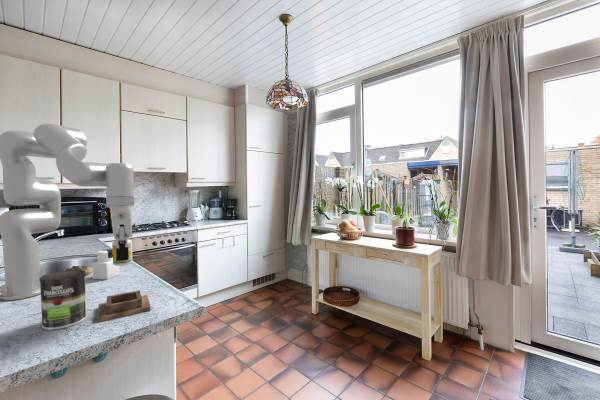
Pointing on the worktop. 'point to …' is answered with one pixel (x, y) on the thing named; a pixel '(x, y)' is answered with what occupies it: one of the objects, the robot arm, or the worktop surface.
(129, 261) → the supplement bottle
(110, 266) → the medicine bottle
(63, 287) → the coffee can
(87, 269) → the bread roll
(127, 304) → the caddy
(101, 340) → the worktop surface
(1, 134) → the robot arm
